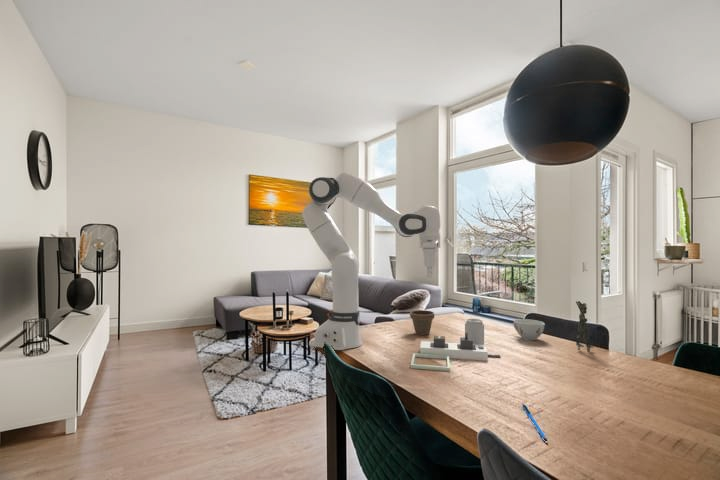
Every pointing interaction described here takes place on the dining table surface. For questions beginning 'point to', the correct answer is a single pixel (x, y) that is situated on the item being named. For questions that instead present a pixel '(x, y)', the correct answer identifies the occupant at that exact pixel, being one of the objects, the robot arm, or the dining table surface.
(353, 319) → the robot arm
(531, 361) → the dining table surface
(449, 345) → the white power strip
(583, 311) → the statue
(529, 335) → the teacup
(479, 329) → the can
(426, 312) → the flower pot
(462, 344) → the twin plug
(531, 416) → the pen
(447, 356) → the tray
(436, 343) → the dark grey block
